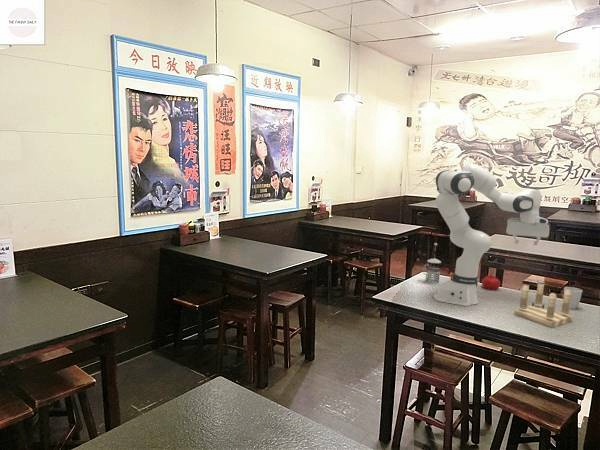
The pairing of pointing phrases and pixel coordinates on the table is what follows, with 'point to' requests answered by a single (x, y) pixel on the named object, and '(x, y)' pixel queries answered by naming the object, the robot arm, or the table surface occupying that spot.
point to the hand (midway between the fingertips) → (525, 244)
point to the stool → (545, 310)
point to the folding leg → (539, 292)
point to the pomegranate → (490, 282)
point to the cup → (574, 296)
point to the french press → (434, 271)
